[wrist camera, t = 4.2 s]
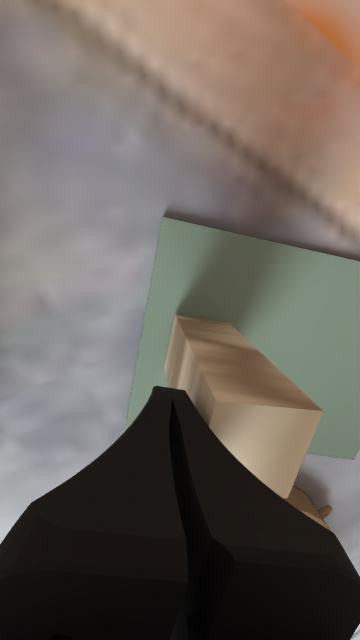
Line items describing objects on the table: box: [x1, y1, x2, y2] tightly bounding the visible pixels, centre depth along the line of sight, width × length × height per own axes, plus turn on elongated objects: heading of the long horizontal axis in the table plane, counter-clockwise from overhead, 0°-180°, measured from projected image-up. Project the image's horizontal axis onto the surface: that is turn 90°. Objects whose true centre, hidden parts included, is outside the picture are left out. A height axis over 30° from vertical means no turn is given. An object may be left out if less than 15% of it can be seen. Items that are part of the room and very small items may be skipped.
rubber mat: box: [125, 217, 360, 460], centre depth 20 cm, size 20×16×1 cm
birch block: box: [164, 314, 323, 498], centre depth 14 cm, size 4×4×10 cm
